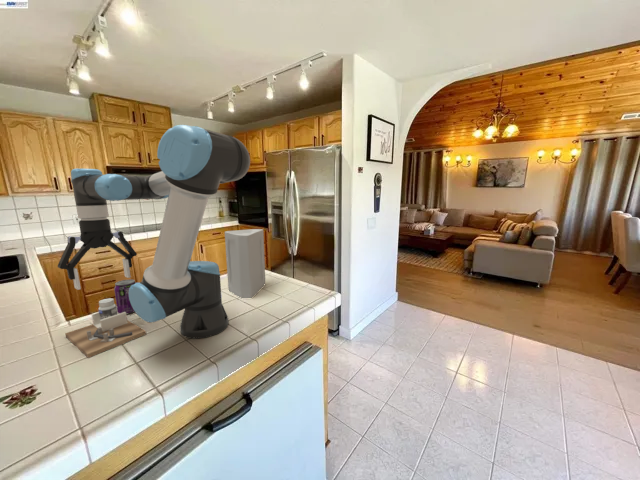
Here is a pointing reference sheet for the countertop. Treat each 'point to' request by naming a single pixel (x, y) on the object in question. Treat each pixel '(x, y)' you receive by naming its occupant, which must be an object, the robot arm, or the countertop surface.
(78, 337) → the board
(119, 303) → the beverage can
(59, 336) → the countertop surface
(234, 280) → the grey triangular prism
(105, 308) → the pill bottle
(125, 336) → the cable
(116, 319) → the end holder
